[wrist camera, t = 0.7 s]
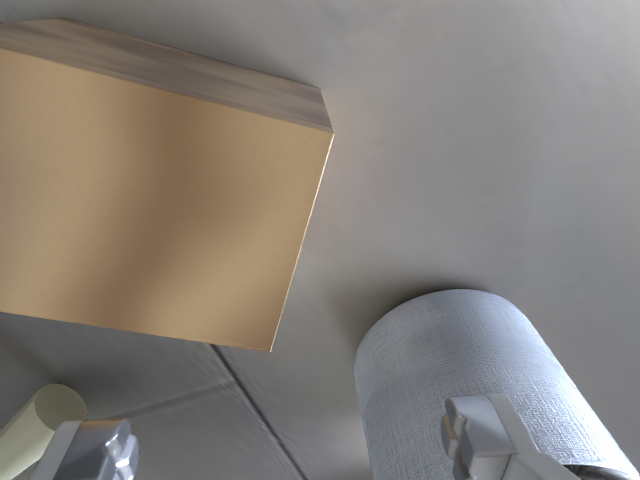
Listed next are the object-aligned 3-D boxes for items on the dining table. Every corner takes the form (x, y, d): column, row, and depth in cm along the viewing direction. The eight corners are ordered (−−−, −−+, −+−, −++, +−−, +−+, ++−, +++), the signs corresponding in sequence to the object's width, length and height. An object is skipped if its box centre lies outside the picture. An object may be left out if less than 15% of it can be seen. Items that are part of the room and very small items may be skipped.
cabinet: (68, 217, 29) (-24, 308, 20) (62, 17, 23) (-72, 28, 14) (276, 258, 32) (270, 352, 23) (320, 88, 25) (334, 133, 17)
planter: (341, 297, 34) (374, 493, 20) (536, 266, 33) (699, 445, 20) (361, 419, 42) (394, 616, 29) (518, 395, 42) (625, 584, 28)
